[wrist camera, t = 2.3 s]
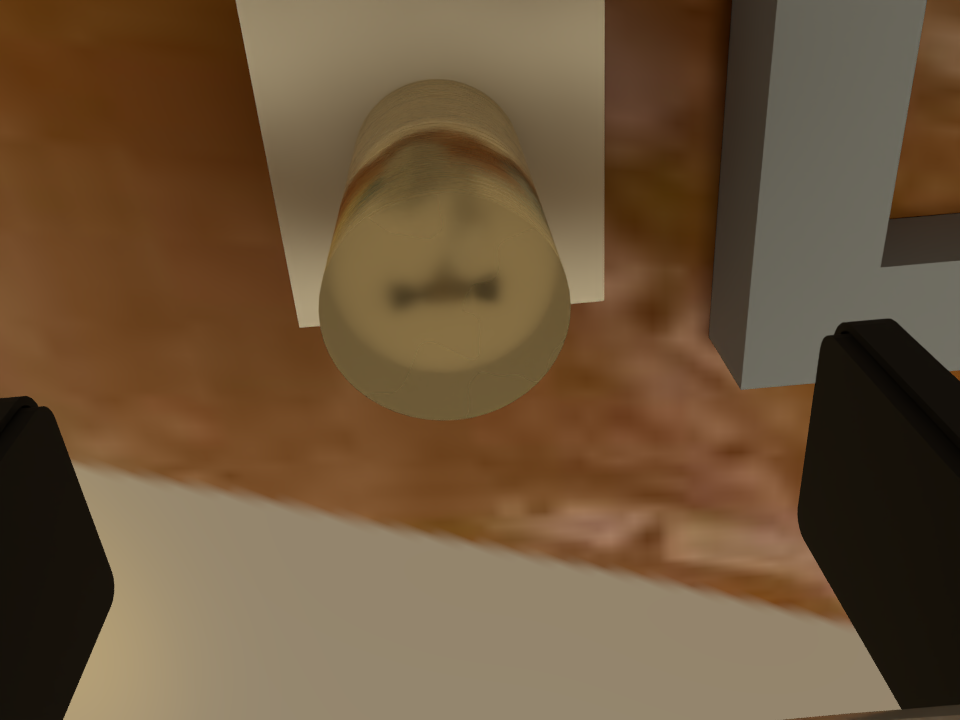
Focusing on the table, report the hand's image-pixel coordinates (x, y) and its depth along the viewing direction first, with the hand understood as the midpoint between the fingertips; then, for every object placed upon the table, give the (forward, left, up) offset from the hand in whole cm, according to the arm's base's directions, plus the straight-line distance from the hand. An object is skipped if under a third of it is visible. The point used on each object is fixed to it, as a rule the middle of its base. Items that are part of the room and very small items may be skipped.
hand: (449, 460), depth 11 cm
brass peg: (0, 0, -12) cm, 12 cm away
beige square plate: (0, 0, -14) cm, 14 cm away
